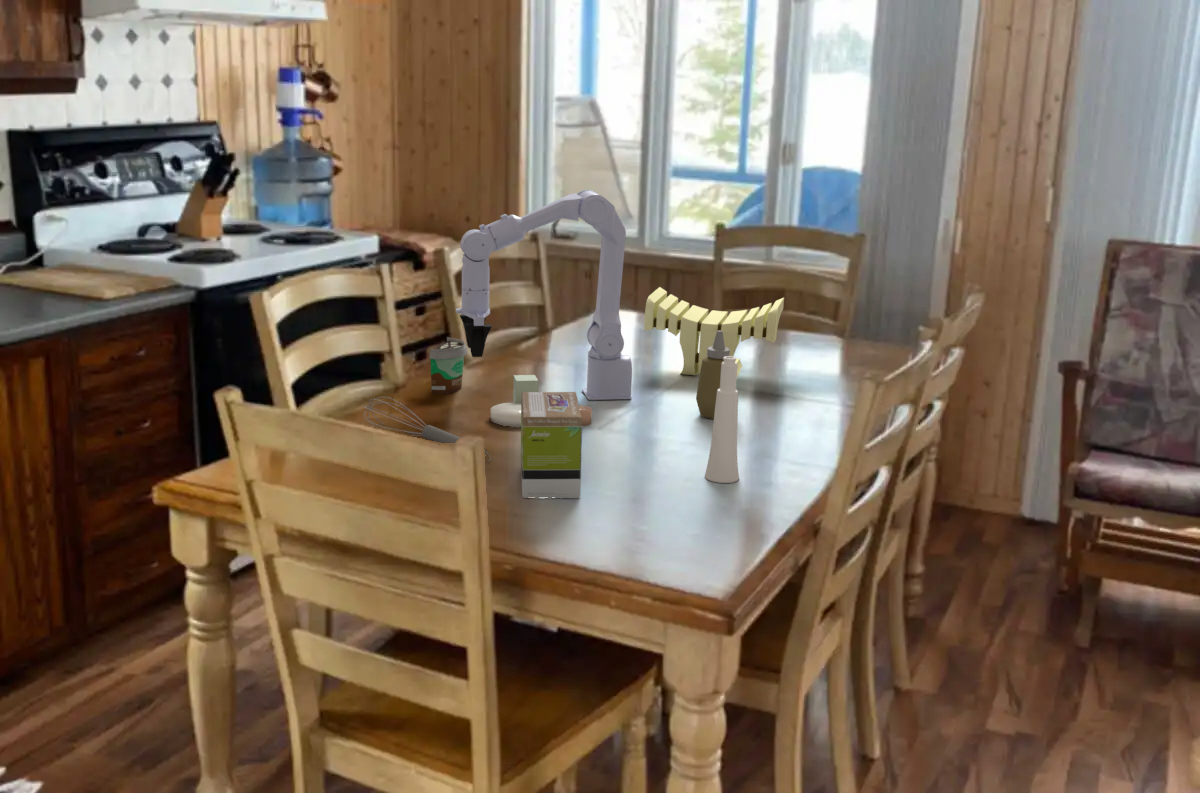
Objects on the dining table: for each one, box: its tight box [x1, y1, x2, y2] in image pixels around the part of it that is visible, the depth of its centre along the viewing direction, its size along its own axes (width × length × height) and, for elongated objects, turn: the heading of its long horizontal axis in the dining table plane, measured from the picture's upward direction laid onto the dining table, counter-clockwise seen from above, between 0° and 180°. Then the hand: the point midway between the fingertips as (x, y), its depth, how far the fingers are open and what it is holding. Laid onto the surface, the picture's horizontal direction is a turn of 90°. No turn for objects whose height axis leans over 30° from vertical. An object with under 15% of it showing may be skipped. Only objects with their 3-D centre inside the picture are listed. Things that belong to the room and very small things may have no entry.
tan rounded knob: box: [579, 404, 593, 427], centre depth 243 cm, size 5×5×3 cm
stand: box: [490, 401, 521, 428], centre depth 243 cm, size 11×11×2 cm
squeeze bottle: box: [695, 331, 730, 420], centre depth 249 cm, size 8×8×18 cm
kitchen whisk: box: [363, 395, 492, 462], centre depth 227 cm, size 6×34×6 cm, turn 50°
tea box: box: [520, 391, 583, 499], centre depth 206 cm, size 15×10×15 cm, turn 5°
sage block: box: [512, 374, 539, 402], centre depth 253 cm, size 4×4×6 cm
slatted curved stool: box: [643, 286, 785, 377], centre depth 284 cm, size 30×16×18 cm, turn 76°
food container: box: [428, 336, 468, 394], centre depth 262 cm, size 12×6×10 cm, turn 168°
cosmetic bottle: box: [704, 356, 740, 484], centre depth 211 cm, size 6×6×22 cm
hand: (475, 352), depth 254 cm, fingers open, 7 cm apart
